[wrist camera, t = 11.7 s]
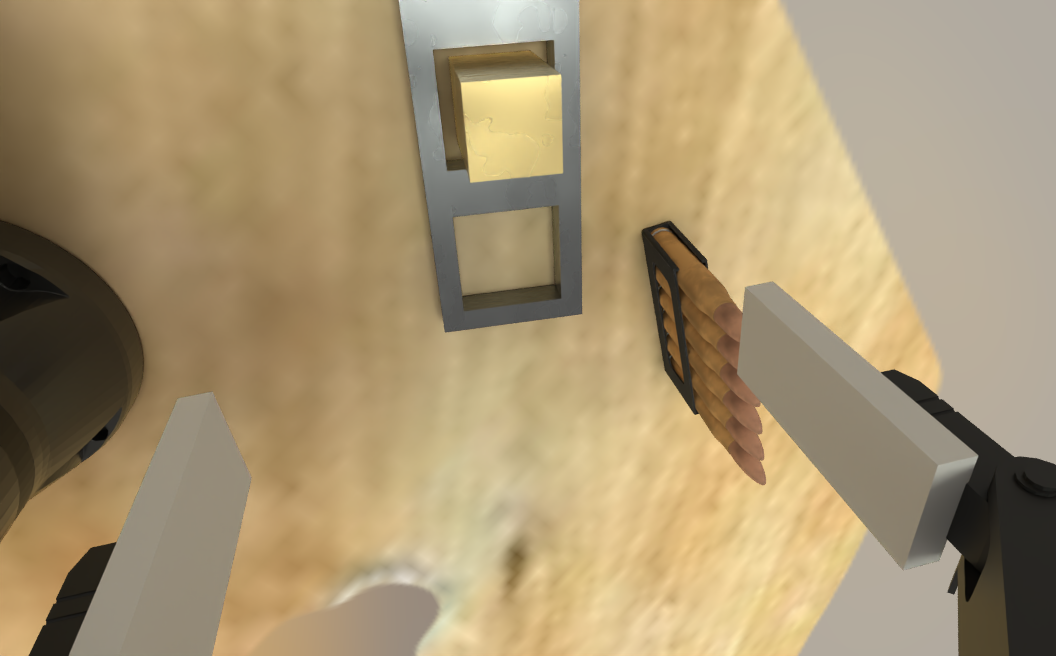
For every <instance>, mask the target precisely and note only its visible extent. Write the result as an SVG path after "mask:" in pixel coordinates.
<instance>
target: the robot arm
mask: <svg viewBox="0 0 1056 656" xmlns="http://www.w3.org/2000/svg"><path fill="white" fill-rule="evenodd" d="M737 375H738V376H739V377H740V378H741V379H742V380H743V382H744V383H745V384H746V385H747V386H748V388H749V389H750V390H751V391H752V392H753V393H754V395H755V396H756V397H757V398H758V399H759V401H760V402H761V403H762V404H763V405H764V406H765V408H766V409H767V410H768V411H769V412H770V414H771V415H772V416H773V417H774V418H775V419H776V421H777V422H778V423H779V424H780V425H781V427H782V428H783V429H784V430H785V431H786V432H787V434H788V435H789V436H790V437H791V438H792V440H793V441H794V442H795V443H796V444H797V445H798V447H799V448H800V449H801V450H802V451H803V453H804V454H805V455H806V456H807V457H808V458H809V460H810V461H811V462H812V463H813V464H814V466H815V467H816V468H817V469H818V470H819V471H820V473H821V474H822V475H823V476H824V477H825V479H826V480H827V481H828V482H829V483H830V484H831V486H832V487H833V488H834V489H835V490H836V492H837V493H838V494H839V495H840V496H841V498H842V499H843V500H844V501H845V502H846V503H847V505H848V506H849V507H850V508H851V509H852V511H853V512H854V513H855V514H856V515H857V516H858V518H859V519H860V520H861V521H862V522H863V524H864V525H865V526H866V527H867V528H868V529H869V531H870V532H871V533H872V534H873V535H874V537H875V538H876V539H877V540H878V541H879V542H880V544H881V545H882V546H883V547H884V548H885V550H886V551H887V552H888V553H889V554H890V555H891V557H892V558H893V559H894V560H895V561H896V562H897V564H898V565H899V566H900V567H901V568H902V570H907V569H911V568H915V567H918V566H922V565H926V564H929V563H933V562H937V561H939V560H940V557H941V555H942V552H943V549H944V547H945V544H946V541H947V539H948V540H949V542H950V543H952V545H953V546H954V547H955V548H956V549H957V550H958V551H959V552H960V553H961V554H962V555H961V558H960V560H959V563H958V566H957V568H956V570H955V573H954V575H953V578H952V580H951V583H950V586H949V589H948V593H951V594H955V591H956V589H957V586H958V642H959V643H958V647H959V649H958V651H959V656H1056V465H1055V464H1053V463H1050V462H1046V461H1043V460H1040V459H1037V458H1029V457H1014V456H1012V455H1011V454H1010V453H1009V452H1007V451H1006V450H1005V449H1004V448H1002V447H1001V446H1000V445H998V444H997V443H996V442H995V441H994V440H992V439H991V438H990V437H989V436H987V435H986V434H985V433H984V432H982V431H981V430H980V429H979V428H977V427H976V426H975V425H974V424H972V423H971V422H970V421H968V420H967V419H966V418H965V417H964V416H962V415H961V414H960V413H959V412H955V411H954V409H953V408H952V407H951V406H950V405H949V404H947V403H946V402H945V401H944V400H942V399H941V400H939V398H938V396H937V395H936V394H935V393H934V392H933V391H931V390H930V389H929V388H928V387H926V386H925V385H924V384H923V383H921V382H920V381H918V380H916V379H914V378H912V377H910V376H907V375H905V374H903V373H901V372H899V371H897V370H889V371H885V372H879V371H878V370H877V369H876V368H875V367H873V366H872V365H871V364H870V363H869V362H867V361H866V360H865V359H864V358H863V357H862V356H860V355H859V354H858V353H857V352H856V351H854V350H853V349H852V348H851V347H850V346H849V345H847V344H846V343H845V342H844V341H843V340H841V339H840V338H839V337H838V336H837V335H836V334H834V333H833V332H832V331H831V330H830V329H828V328H827V327H826V326H825V325H824V324H823V323H821V322H820V321H819V320H818V319H817V318H815V317H814V316H813V315H812V314H811V313H810V312H808V311H807V310H806V309H805V308H804V307H803V306H801V305H800V304H799V303H798V302H797V301H795V300H794V299H793V298H792V297H791V296H790V295H788V294H787V293H786V292H785V291H784V290H782V289H781V288H780V287H779V286H778V285H777V284H775V283H774V282H768V283H763V284H758V285H753V286H748V287H745V294H744V304H743V315H742V326H741V337H740V347H739V358H738V369H737ZM142 377H143V353H142V348H141V343H140V340H139V336H138V333H137V331H136V328H135V326H134V324H133V322H132V320H131V318H130V316H129V314H128V312H127V311H126V309H125V307H124V306H123V305H122V303H121V302H120V300H119V299H118V298H117V296H116V295H115V294H114V293H113V291H112V290H111V289H110V288H109V287H108V286H107V285H106V284H105V282H103V281H102V280H101V279H100V278H99V277H98V276H97V275H96V274H95V273H94V272H93V271H92V270H91V269H89V268H88V267H87V266H86V265H85V264H83V263H82V262H81V261H79V260H78V259H77V258H75V257H74V256H72V255H71V254H69V253H68V252H66V251H65V250H63V249H62V248H60V247H58V246H57V245H55V244H53V243H51V242H50V241H48V240H46V239H44V238H42V237H40V236H38V235H36V234H34V233H31V232H29V231H27V230H24V229H22V228H19V227H17V226H14V225H11V224H8V223H6V222H3V221H0V542H1V541H2V539H3V538H4V536H5V535H6V533H7V532H8V530H9V529H10V527H11V526H12V524H13V522H14V521H15V519H16V518H17V516H18V515H19V513H20V512H21V510H22V509H23V508H24V506H25V505H26V503H27V502H28V501H29V500H30V499H32V498H33V497H34V496H36V495H37V494H39V493H40V492H41V491H43V490H44V489H45V488H47V487H48V486H50V485H51V484H52V483H54V482H55V481H57V480H58V479H59V478H61V477H62V476H64V475H65V474H66V473H68V472H69V471H71V470H72V469H73V468H75V467H76V466H78V465H79V464H80V463H81V462H83V461H84V460H86V459H87V458H89V457H90V456H91V455H93V454H94V453H95V452H97V451H98V450H99V449H100V448H101V447H102V446H103V445H105V444H106V443H107V441H108V440H109V439H110V438H111V437H112V436H113V435H114V434H115V432H116V431H117V430H118V428H119V427H120V425H121V424H122V422H123V420H124V418H125V417H126V415H127V413H128V412H129V410H130V408H131V406H132V405H133V403H134V401H135V399H136V397H137V395H138V392H139V389H140V386H141V382H142ZM251 478H252V477H251V475H250V473H249V471H248V469H247V466H246V464H245V462H244V460H243V458H242V455H241V453H240V451H239V449H238V447H237V445H236V442H235V440H234V438H233V436H232V434H231V431H230V429H229V427H228V425H227V423H226V420H225V418H224V416H223V414H222V412H221V409H220V407H219V405H218V403H217V401H216V398H215V396H214V394H213V392H208V393H203V394H198V395H193V396H188V397H183V398H178V399H177V401H176V404H175V406H174V408H173V411H172V413H171V415H170V418H169V420H168V423H167V425H166V427H165V430H164V432H163V434H162V437H161V439H160V441H159V444H158V446H157V448H156V451H155V453H154V456H153V458H152V460H151V463H150V465H149V467H148V470H147V472H146V474H145V477H144V479H143V481H142V484H141V486H140V489H139V491H138V493H137V496H136V498H135V500H134V503H133V505H132V507H131V510H130V512H129V515H128V517H127V519H126V522H125V524H124V526H123V529H122V531H121V533H120V536H119V538H118V540H117V542H115V543H111V544H106V545H101V546H97V547H92V548H90V549H89V550H88V552H87V553H86V554H85V555H84V556H83V557H82V558H81V559H80V561H79V562H78V563H77V564H76V565H75V566H74V567H73V568H72V570H71V571H70V572H69V573H68V575H67V577H66V579H65V581H64V583H63V585H62V587H61V590H60V592H59V594H58V596H57V598H56V600H57V602H56V604H53V606H52V608H51V610H50V612H49V615H48V617H47V619H46V625H44V626H43V627H42V629H41V631H40V633H39V635H38V637H37V640H36V642H35V644H34V646H33V648H32V650H31V652H30V654H29V656H212V653H213V649H214V644H215V640H216V635H217V631H218V626H219V622H220V617H221V613H222V608H223V604H224V599H225V595H226V590H227V586H228V581H229V577H230V572H231V568H232V564H233V559H234V555H235V550H236V546H237V541H238V537H239V532H240V528H241V523H242V519H243V514H244V510H245V505H246V501H247V496H248V492H249V487H250V483H251Z"/></svg>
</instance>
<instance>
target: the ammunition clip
mask: <svg viewBox="0 0 1056 656" xmlns="http://www.w3.org/2000/svg"><path fill="white" fill-rule="evenodd" d="M642 238H643V244H644V249H645V255H646V261H647V267H648V273H649V279H650V285H651V291H652V297H653V303H654V308H655V314H656V320H657V326H658V332H659V338H660V344H661V350H662V356H663V362H664V367H665V371H666V373H667V374H668V376H669V377H670V379H671V380H672V382H673V383H674V385H675V386H676V388H677V389H678V391H679V392H680V394H681V395H682V397H683V398H684V400H685V401H686V403H687V404H688V406H689V407H690V409H691V410H692V412H693V413H694V414H695V415H696V414H700V416H701V417H702V419H703V420H704V422H705V423H706V425H707V426H708V428H709V429H710V431H711V433H712V434H713V435H714V437H715V438H716V439H717V440H718V441H719V442H720V443H721V444H722V445H723V446H724V447H725V448H726V450H727V451H728V452H729V454H731V456H732V457H733V459H734V460H735V462H736V463H737V464H738V465H739V467H740V468H741V469H742V470H743V471H744V472H745V473H746V474H747V475H748V476H749V477H750V478H752V479H753V480H754V481H756V482H757V483H759V484H761V485H765V484H766V477H765V472H764V469H763V466H762V464H761V462H760V460H764V451H763V447H762V444H761V441H760V439H759V437H758V435H757V434H762V424H761V420H760V417H759V415H758V413H757V410H756V409H755V407H759V406H760V401H759V399H758V398H757V397H756V396H755V395H754V393H753V392H752V391H751V390H750V389H749V388H748V386H747V385H746V384H745V383H744V382H743V380H742V379H741V378H740V377H739V376H738V375H737V369H738V358H739V347H740V337H741V326H742V315H743V313H742V312H741V311H740V310H739V308H738V307H737V306H736V304H735V303H734V302H733V300H732V299H731V298H730V296H729V294H728V292H727V290H726V289H725V287H724V286H723V285H722V284H721V283H720V282H719V281H718V280H717V278H716V277H715V276H714V275H713V274H712V273H711V272H710V271H709V270H708V264H707V259H706V258H705V257H704V256H703V255H702V254H701V253H700V252H699V251H698V250H697V249H696V248H695V246H694V245H693V244H692V243H691V242H690V241H689V240H688V239H687V238H686V237H685V236H684V235H683V234H682V233H681V232H680V230H679V229H678V228H677V227H676V226H675V225H674V224H673V223H672V222H671V221H669V222H666V223H663V224H660V225H657V226H653V227H650V228H647V229H644V230H643V231H642ZM754 406H755V407H754Z"/></svg>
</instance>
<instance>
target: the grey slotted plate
mask: <svg viewBox="0 0 1056 656" xmlns="http://www.w3.org/2000/svg"><path fill="white" fill-rule="evenodd" d="M399 7H400V14H401V21H402V28H403V35H404V43H405V50H406V57H407V64H408V71H409V78H410V86H411V93H412V100H413V107H414V114H415V122H416V129H417V136H418V143H419V150H420V157H421V165H422V172H423V179H424V186H425V193H426V200H427V208H428V215H429V222H430V229H431V236H432V243H433V251H434V258H435V265H436V272H437V279H438V286H439V294H440V301H441V308H442V315H443V322H444V329H445V332H452V331H460V330H467V329H475V328H482V327H489V326H497V325H504V324H512V323H519V322H527V321H534V320H542V319H549V318H556V317H564V316H571V315H579V314H582V256H581V147H580V38H579V0H399ZM546 40H547V64H548V65H549V66H551V67H552V68H553V69H555V70H556V71H557V72H558V73H560V74H561V89H562V143H563V173H561V174H552V175H542V176H532V177H522V178H512V179H502V180H492V181H483V182H473V183H470V180H469V177H468V174H467V170H466V167H465V164H464V161H463V159H462V160H452V161H446V158H445V150H444V141H443V133H442V124H441V116H440V108H439V99H438V91H437V82H436V74H435V66H434V57H433V50H434V49H447V48H459V47H472V46H484V45H497V44H509V43H522V42H534V41H546ZM547 206H552V215H553V245H554V275H555V285H548V286H540V287H532V288H524V289H516V290H509V291H501V292H493V293H485V294H477V295H470V296H462V292H461V284H460V275H459V267H458V259H457V250H456V242H455V234H454V225H453V217H458V216H467V215H476V214H485V213H494V212H503V211H511V210H520V209H529V208H538V207H547Z"/></svg>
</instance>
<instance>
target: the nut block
mask: <svg viewBox="0 0 1056 656" xmlns="http://www.w3.org/2000/svg"><path fill="white" fill-rule="evenodd" d="M449 67H450V77H451V86H452V96H453V106H454V115H455V125H456V135H457V142H458V145H459V148H460V151H461V154H462V158H463V161H464V164H465V167H466V170H467V174H468V177H469V180H470V183H473V182H483V181H492V180H502V179H512V178H522V177H532V176H542V175H552V174H561V173H563V143H562V89H561V74H560V73H558V72H557V71H556V70H555V69H553V68H552V67H551V66H549V65H548V64H547V63H546V62H544V61H543V60H542V59H540V58H539V57H538V56H537V55H535V54H534V53H533V52H531V51H530V50H529V51H516V52H503V53H490V54H477V55H464V56H451V57H449Z"/></svg>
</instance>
